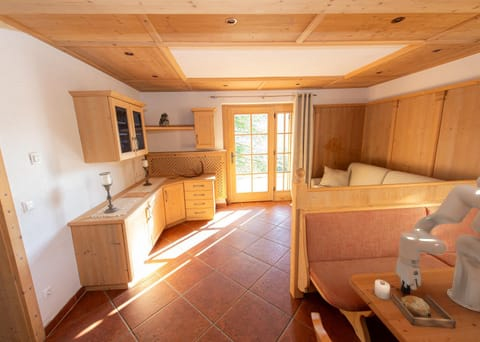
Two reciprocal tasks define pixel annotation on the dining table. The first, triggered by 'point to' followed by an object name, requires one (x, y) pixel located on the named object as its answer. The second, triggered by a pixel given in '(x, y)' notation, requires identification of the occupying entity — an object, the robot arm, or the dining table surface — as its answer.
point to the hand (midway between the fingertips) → (405, 293)
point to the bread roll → (416, 306)
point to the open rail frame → (445, 322)
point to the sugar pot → (382, 289)
